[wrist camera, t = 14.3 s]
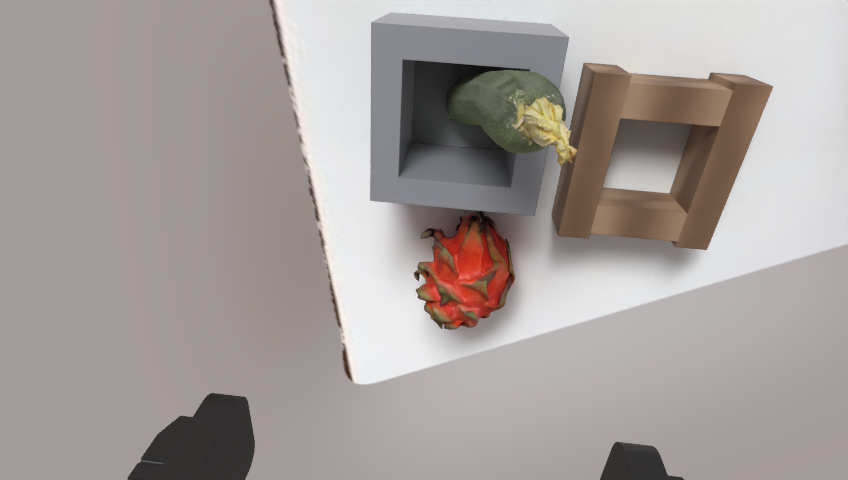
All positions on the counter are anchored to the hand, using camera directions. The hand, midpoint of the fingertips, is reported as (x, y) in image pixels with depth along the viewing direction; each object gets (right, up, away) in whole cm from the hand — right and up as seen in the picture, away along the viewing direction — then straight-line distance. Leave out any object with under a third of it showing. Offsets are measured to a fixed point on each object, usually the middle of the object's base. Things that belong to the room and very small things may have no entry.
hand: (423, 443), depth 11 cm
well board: (+18, +12, +29) cm, 36 cm away
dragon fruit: (+4, +4, +36) cm, 36 cm away
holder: (+3, +16, +28) cm, 33 cm away
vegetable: (+3, +16, +28) cm, 33 cm away
